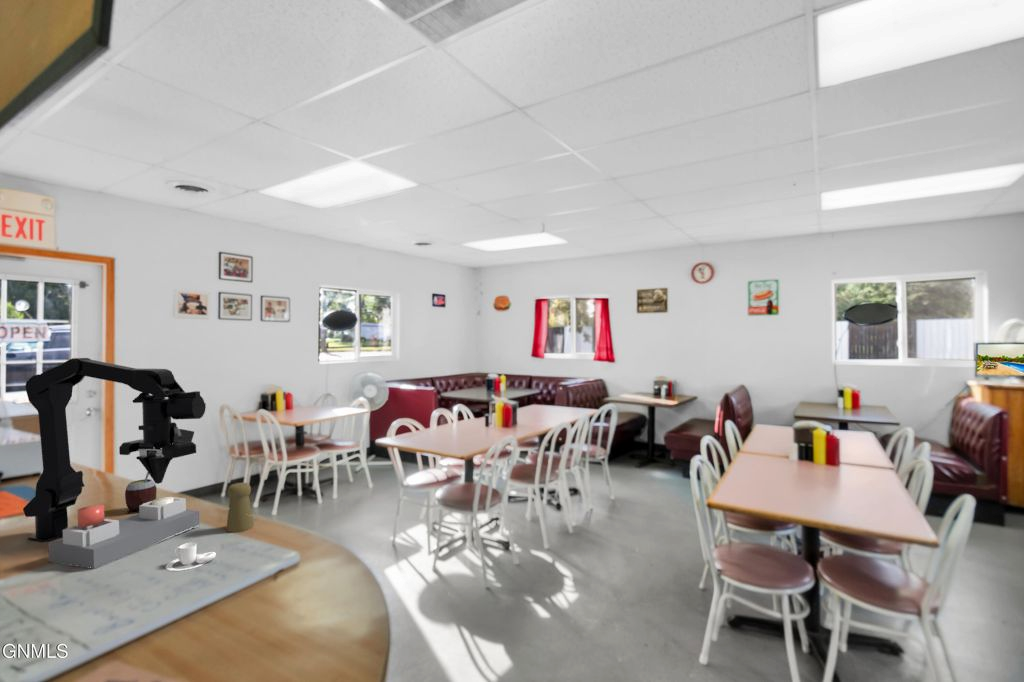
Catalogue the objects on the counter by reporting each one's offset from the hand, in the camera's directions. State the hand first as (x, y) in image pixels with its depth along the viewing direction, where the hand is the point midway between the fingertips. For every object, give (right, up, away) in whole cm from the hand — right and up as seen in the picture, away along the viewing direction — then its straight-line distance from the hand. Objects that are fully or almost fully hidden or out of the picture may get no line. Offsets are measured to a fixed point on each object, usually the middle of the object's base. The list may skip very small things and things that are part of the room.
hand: (158, 483), depth 123 cm
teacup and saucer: (+21, -12, -21) cm, 32 cm away
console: (-2, -12, -7) cm, 14 cm away
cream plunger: (+1, -8, +1) cm, 8 cm away
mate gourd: (-16, -13, +17) cm, 27 cm away
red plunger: (-5, -5, -14) cm, 16 cm away
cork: (+20, -12, +1) cm, 23 cm away
